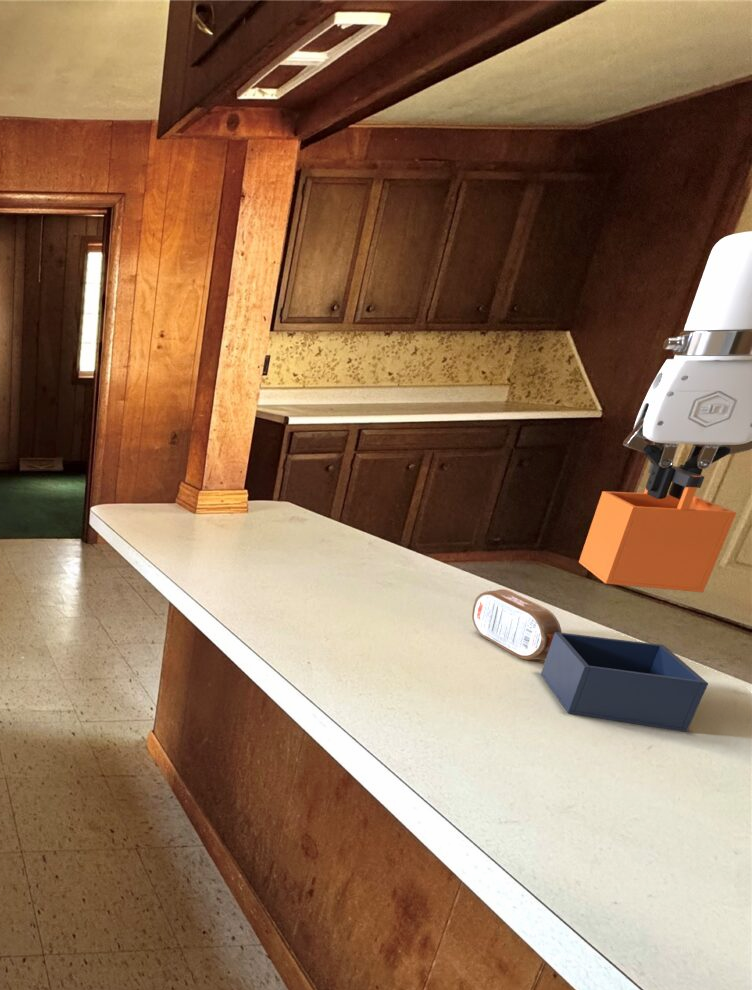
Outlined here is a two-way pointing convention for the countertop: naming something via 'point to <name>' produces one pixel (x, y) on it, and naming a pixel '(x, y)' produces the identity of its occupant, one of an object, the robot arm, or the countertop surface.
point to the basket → (657, 537)
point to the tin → (515, 623)
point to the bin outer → (622, 681)
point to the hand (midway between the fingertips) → (666, 496)
